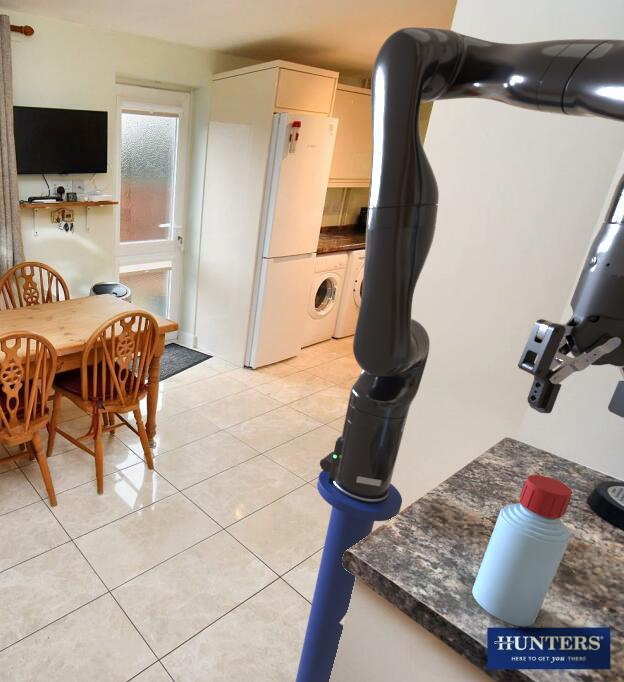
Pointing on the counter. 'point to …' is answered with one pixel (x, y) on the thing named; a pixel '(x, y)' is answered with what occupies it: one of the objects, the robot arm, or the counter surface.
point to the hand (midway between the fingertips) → (579, 412)
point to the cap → (545, 496)
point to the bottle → (520, 564)
